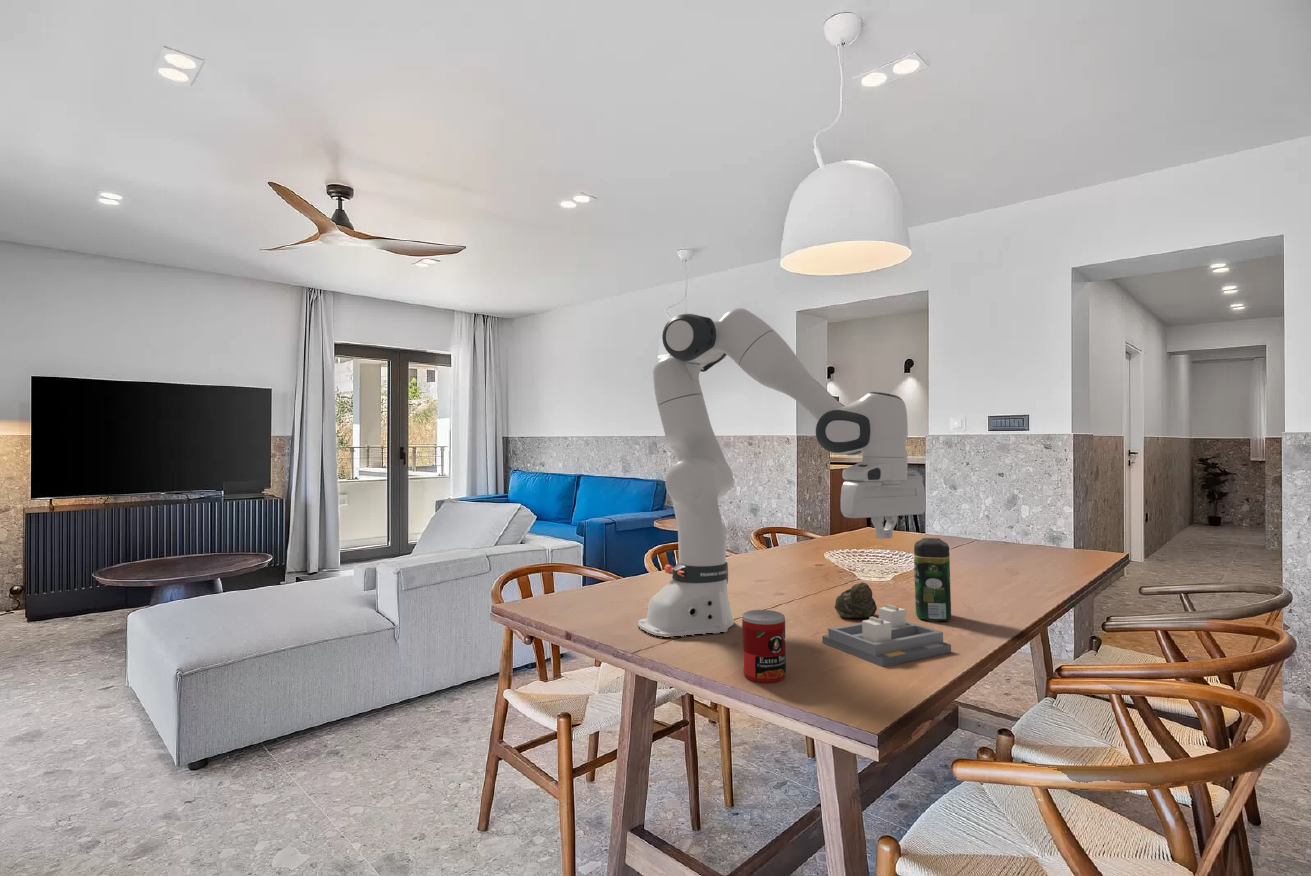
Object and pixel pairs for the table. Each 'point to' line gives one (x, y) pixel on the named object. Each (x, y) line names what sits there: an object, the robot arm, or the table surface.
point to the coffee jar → (932, 579)
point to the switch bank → (889, 643)
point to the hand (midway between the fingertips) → (884, 538)
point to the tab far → (893, 615)
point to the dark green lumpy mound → (856, 602)
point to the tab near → (876, 630)
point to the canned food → (764, 646)
